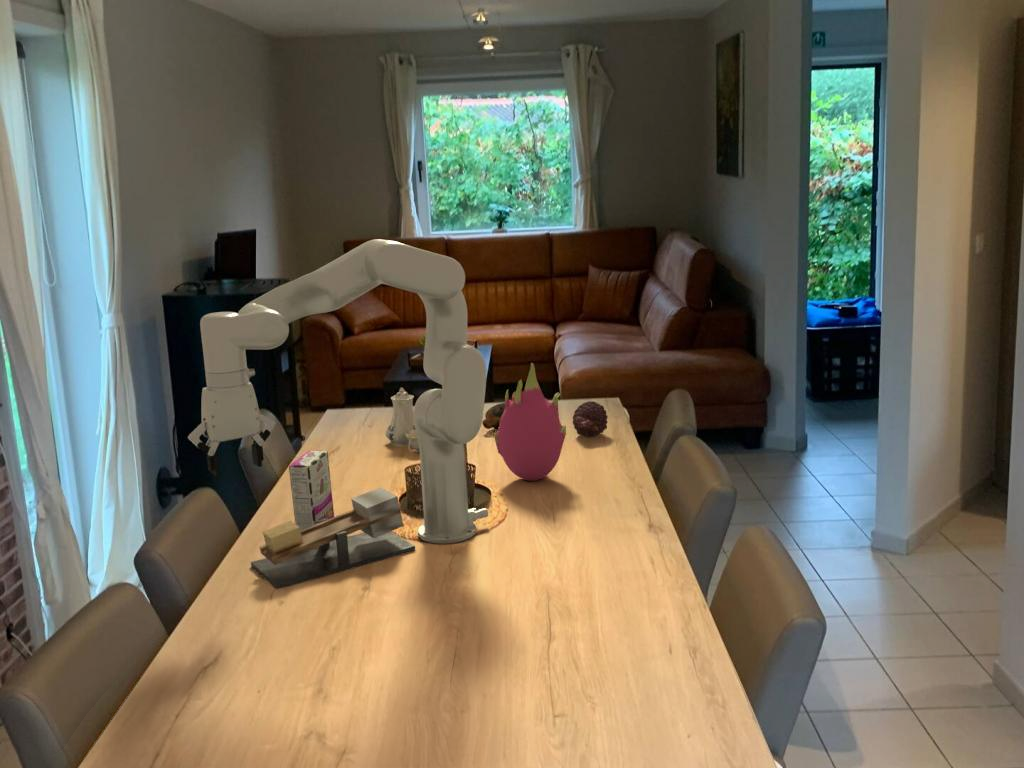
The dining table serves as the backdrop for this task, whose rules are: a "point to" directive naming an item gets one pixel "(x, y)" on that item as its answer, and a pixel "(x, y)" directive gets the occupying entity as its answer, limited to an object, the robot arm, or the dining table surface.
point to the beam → (349, 523)
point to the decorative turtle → (493, 416)
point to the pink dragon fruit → (530, 431)
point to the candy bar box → (311, 488)
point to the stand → (332, 558)
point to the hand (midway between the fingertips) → (236, 469)
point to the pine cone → (590, 419)
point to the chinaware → (403, 422)
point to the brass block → (283, 538)
